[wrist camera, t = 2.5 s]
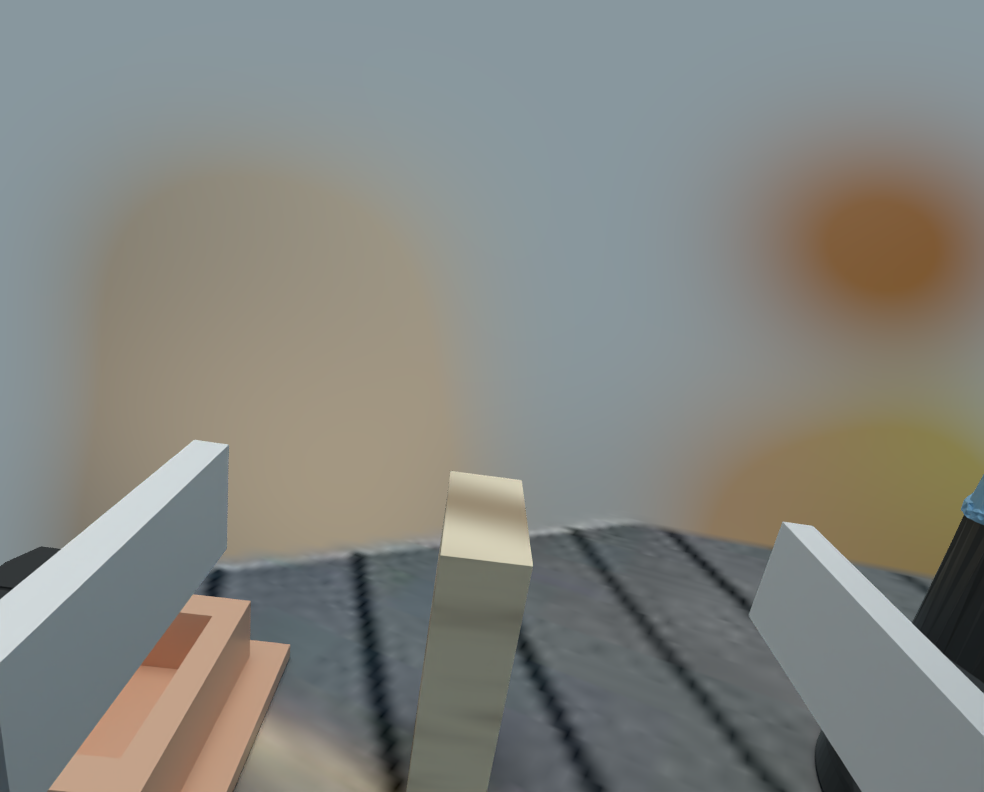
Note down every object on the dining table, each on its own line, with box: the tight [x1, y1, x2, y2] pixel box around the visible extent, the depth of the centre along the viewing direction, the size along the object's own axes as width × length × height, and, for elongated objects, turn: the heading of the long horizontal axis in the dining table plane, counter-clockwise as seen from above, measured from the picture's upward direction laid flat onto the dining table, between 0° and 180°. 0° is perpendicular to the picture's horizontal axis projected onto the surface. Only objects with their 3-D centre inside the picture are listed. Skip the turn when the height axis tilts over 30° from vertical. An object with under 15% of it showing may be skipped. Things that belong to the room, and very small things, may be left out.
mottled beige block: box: [406, 471, 533, 792], centre depth 28 cm, size 7×4×16 cm, turn 1°
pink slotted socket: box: [47, 595, 290, 792], centre depth 28 cm, size 14×12×5 cm
